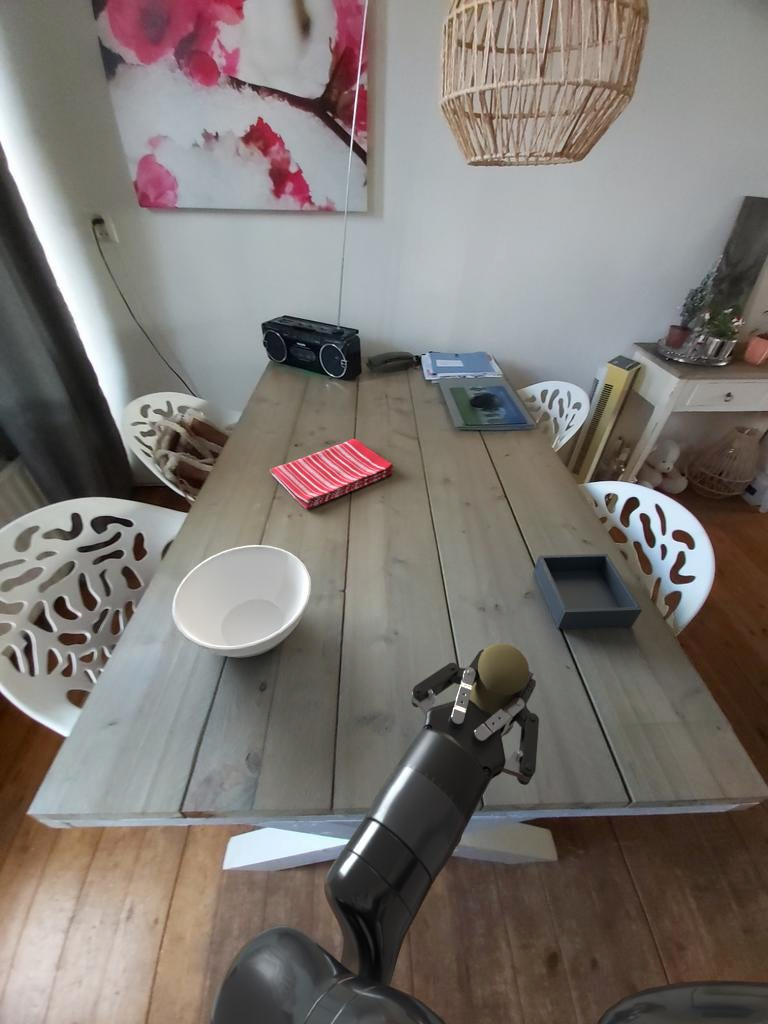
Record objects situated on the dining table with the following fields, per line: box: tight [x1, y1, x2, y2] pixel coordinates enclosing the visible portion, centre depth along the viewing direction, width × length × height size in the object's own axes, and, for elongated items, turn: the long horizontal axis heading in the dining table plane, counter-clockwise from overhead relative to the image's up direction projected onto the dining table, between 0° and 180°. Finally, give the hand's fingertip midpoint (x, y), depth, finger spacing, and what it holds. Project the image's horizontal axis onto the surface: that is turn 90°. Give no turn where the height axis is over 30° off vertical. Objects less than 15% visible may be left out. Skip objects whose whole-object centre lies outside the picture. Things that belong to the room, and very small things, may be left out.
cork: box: [469, 642, 530, 738], centre depth 49 cm, size 6×6×11 cm
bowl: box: [171, 544, 312, 659], centre depth 66 cm, size 20×19×8 cm
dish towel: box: [269, 438, 394, 511], centre depth 101 cm, size 17×24×3 cm
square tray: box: [532, 553, 643, 630], centre depth 73 cm, size 12×12×4 cm
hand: (509, 664), depth 50 cm, fingers closed on cork, 4 cm apart
